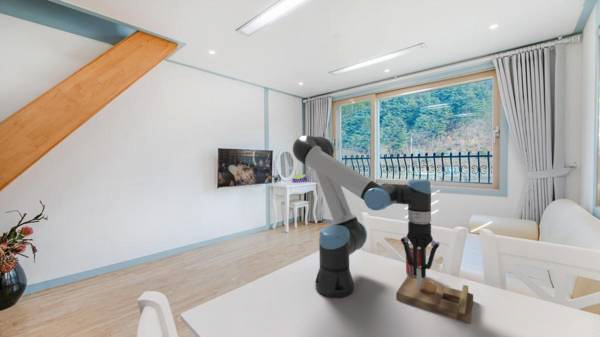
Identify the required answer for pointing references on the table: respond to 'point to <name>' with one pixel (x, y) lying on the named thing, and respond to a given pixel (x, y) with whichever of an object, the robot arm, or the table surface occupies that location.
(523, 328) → the table surface
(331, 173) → the robot arm
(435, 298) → the wooden board
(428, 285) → the ball
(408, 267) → the soda can
